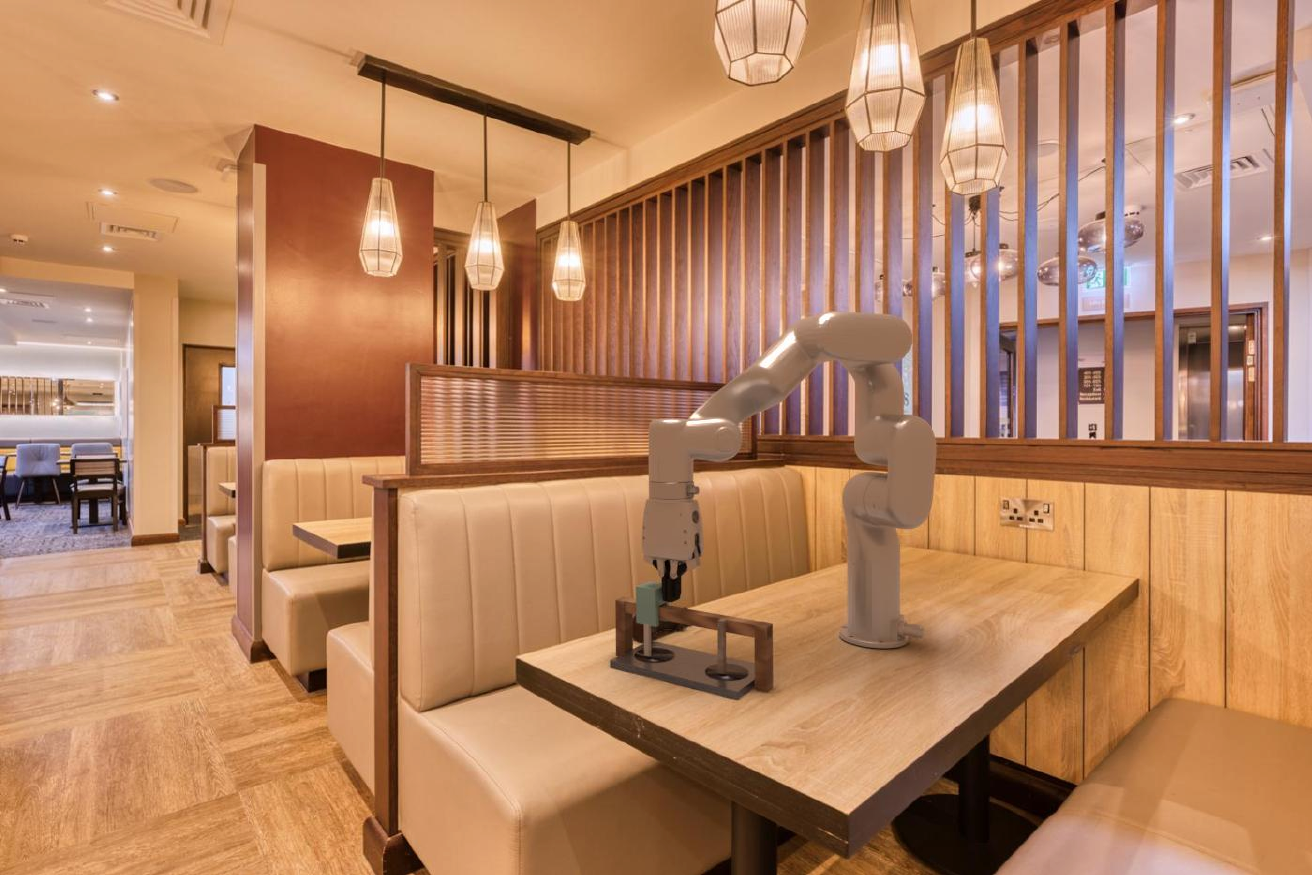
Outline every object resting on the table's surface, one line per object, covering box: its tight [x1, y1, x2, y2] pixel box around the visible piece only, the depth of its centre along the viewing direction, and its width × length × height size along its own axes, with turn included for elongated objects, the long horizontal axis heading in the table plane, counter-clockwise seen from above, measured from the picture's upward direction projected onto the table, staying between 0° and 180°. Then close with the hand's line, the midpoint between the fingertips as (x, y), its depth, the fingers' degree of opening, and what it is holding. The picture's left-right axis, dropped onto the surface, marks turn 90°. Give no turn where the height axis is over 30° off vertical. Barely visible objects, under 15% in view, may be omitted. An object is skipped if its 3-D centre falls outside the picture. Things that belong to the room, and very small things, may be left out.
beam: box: [614, 596, 774, 693], centre depth 108 cm, size 29×3×10 cm, turn 56°
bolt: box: [633, 607, 689, 644], centre depth 129 cm, size 6×5×15 cm
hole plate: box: [609, 640, 755, 701], centre depth 109 cm, size 24×12×1 cm, turn 56°
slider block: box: [635, 580, 670, 656], centre depth 113 cm, size 4×4×12 cm
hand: (671, 599), depth 110 cm, fingers closed
